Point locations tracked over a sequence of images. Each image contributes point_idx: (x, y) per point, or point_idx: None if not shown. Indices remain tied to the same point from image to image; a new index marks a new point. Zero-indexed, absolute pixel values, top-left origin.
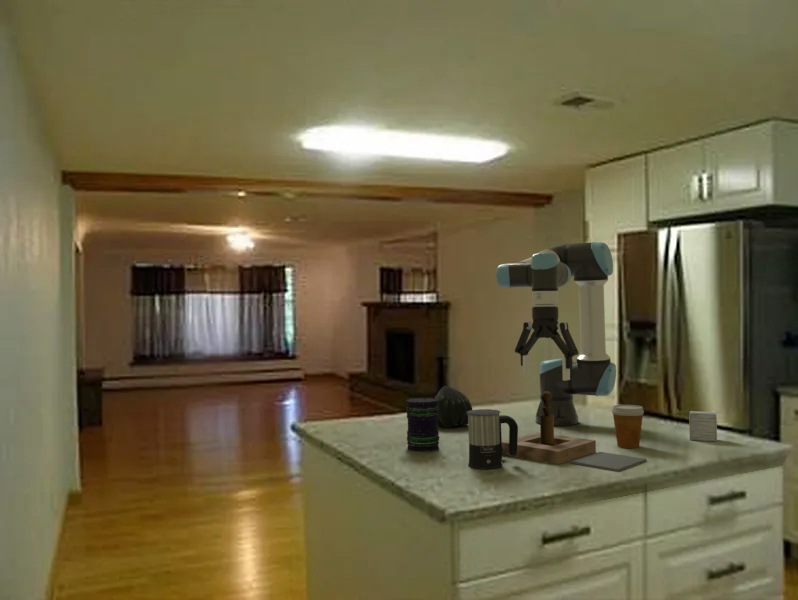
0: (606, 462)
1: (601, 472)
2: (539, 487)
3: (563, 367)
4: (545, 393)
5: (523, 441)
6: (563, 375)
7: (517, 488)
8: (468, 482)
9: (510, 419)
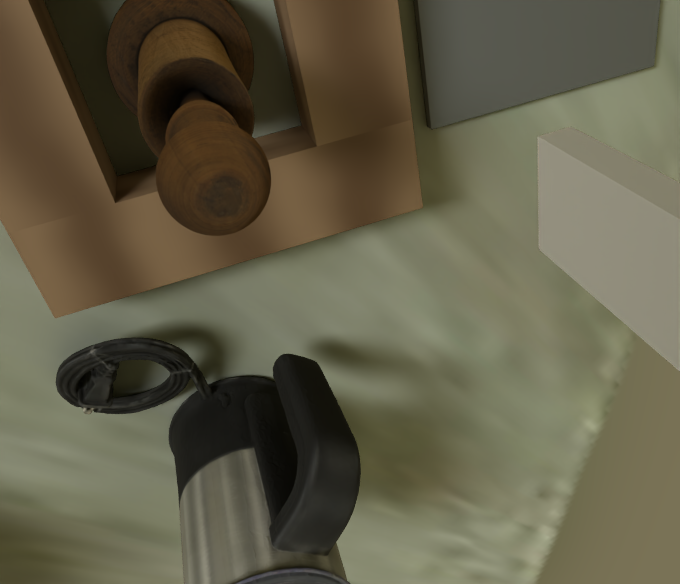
0: (562, 1)
1: (601, 133)
2: (547, 411)
3: (660, 335)
4: (243, 225)
5: (113, 199)
6: (585, 274)
7: (510, 458)
8: (379, 531)
9: (354, 504)
